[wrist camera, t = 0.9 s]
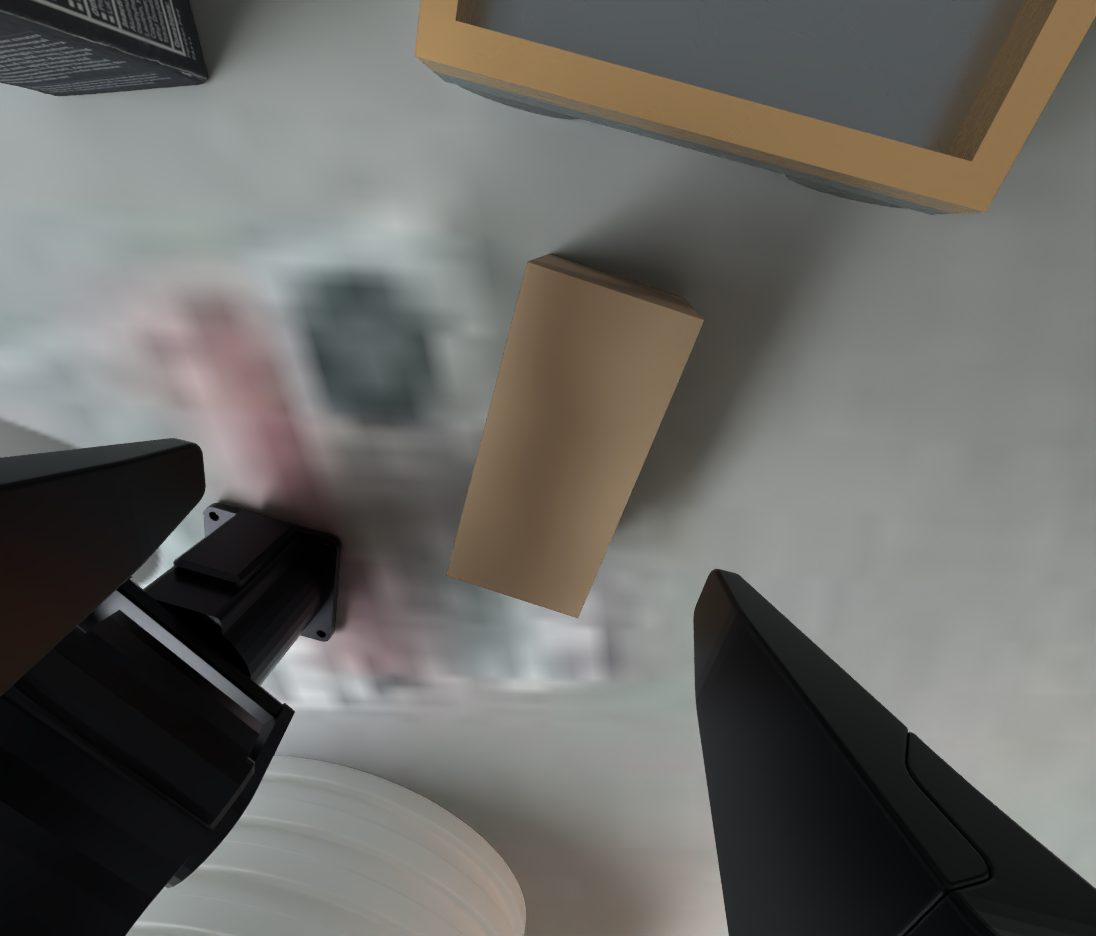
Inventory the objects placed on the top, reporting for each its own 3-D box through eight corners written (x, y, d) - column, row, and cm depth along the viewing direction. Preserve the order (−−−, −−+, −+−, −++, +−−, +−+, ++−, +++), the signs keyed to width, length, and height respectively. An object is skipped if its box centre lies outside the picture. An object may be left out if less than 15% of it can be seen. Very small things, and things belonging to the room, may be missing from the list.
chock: (683, 297, 18) (704, 320, 14) (586, 542, 23) (577, 618, 19) (550, 253, 18) (527, 261, 14) (480, 508, 23) (446, 575, 19)
